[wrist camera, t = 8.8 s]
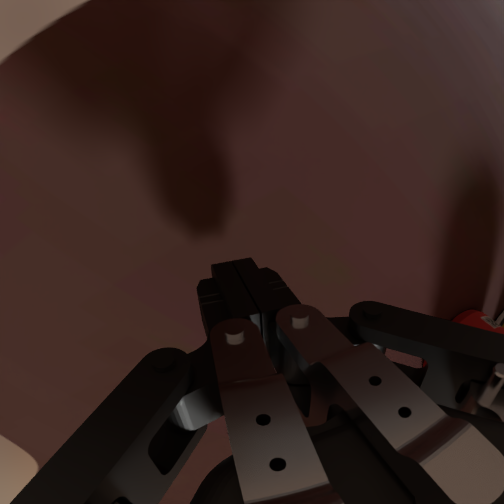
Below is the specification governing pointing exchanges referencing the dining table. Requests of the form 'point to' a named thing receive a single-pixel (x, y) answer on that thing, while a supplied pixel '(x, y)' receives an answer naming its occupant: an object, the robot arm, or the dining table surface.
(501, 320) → the supplement bottle
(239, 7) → the dining table surface
